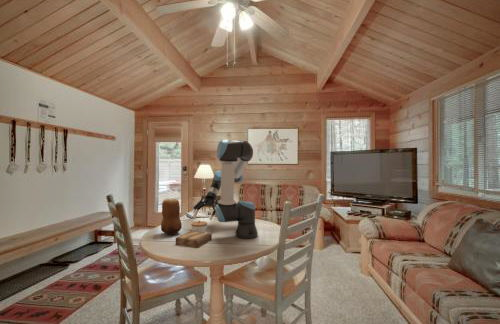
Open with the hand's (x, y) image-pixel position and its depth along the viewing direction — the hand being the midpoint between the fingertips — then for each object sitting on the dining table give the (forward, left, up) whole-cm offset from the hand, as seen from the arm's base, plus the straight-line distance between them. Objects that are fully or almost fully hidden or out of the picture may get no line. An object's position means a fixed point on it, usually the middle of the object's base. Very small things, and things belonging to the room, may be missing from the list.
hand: (201, 218), depth 185 cm
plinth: (-7, +21, -10) cm, 24 cm away
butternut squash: (+17, +12, -10) cm, 23 cm away
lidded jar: (-1, +5, -10) cm, 11 cm away
